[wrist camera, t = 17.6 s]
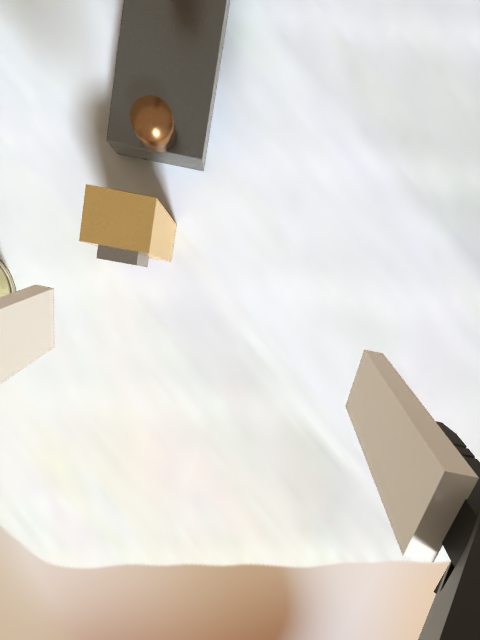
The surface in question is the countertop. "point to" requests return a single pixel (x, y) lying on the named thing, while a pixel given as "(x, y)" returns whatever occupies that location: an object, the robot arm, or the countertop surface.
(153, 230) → the lever cap
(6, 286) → the coffee can
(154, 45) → the hand plane
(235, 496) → the countertop surface
